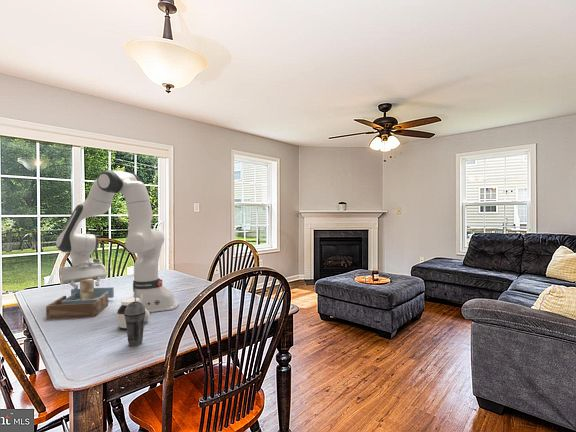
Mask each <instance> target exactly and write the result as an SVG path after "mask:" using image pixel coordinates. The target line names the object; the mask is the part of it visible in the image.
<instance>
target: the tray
mask: <svg viewBox="0 0 576 432" xmlns="http://www.w3.org/2000/svg"><path fill="white" fill-rule="evenodd" d="M104 294H108V299H113V298H114V297H115V296H114V295H115V292H114V286H113V287H112V286H109V287H107V286H106V287H94V299H88V300H80V288H78V289H75V290H74V288H71V289H70V295H69V296H68V297H66V299H64V300H63V301H61V305H64V304H81V303H94V302H95V301H97V300H98V299H99V298H101V297H102V296H103V295H104Z"/></svg>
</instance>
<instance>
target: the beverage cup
mask: <svg viewBox="0 0 576 432" xmlns="http://www.w3.org/2000/svg"><path fill="white" fill-rule="evenodd" d="M145 313H146V311H145V307H144V305H143V304H142V303H140V302H136V289H135V302H132V303H130V304H129V305H128V306H127V307H126V309H125V313H124V315H125V320H126V327H127V330H126V336H127V344H128V347H130V348H131V347H139V346H140V345H142V344H143V337H144V326H145V322H144V318H145Z"/></svg>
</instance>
